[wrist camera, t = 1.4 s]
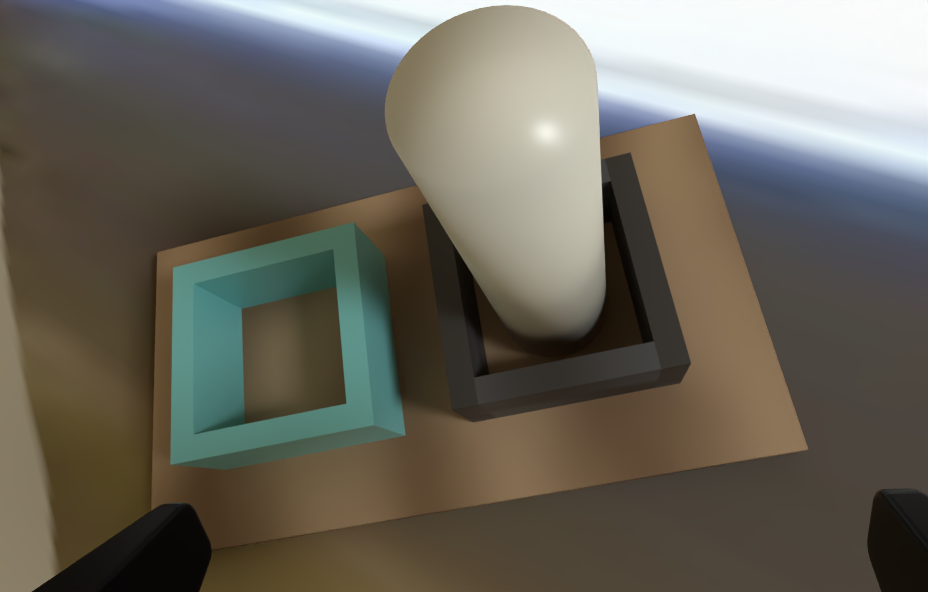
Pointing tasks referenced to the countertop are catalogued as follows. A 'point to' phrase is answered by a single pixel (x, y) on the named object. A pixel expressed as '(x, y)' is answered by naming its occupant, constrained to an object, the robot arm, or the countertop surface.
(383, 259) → the port
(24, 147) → the countertop surface
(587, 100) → the plug
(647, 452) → the panel board
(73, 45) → the countertop surface
